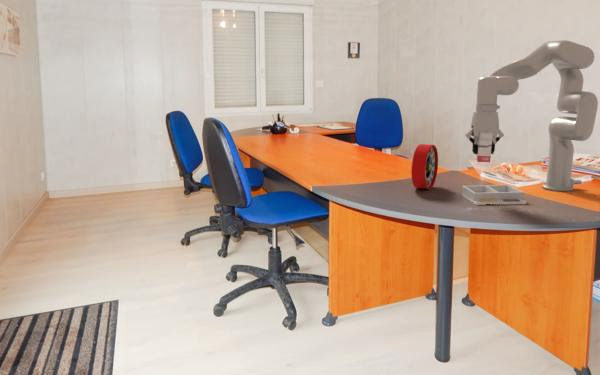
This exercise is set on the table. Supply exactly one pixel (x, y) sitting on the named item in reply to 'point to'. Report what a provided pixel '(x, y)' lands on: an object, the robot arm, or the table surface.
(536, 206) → the table surface
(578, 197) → the table surface
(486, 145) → the ink box
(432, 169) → the toy clock
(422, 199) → the table surface
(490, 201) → the divided tray
